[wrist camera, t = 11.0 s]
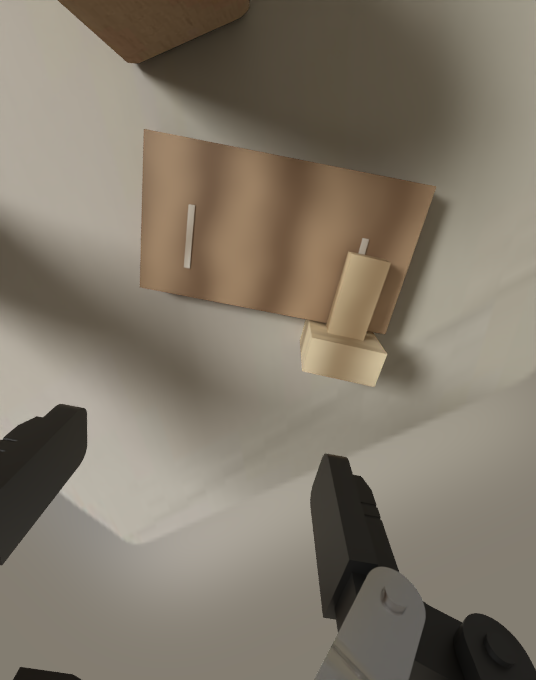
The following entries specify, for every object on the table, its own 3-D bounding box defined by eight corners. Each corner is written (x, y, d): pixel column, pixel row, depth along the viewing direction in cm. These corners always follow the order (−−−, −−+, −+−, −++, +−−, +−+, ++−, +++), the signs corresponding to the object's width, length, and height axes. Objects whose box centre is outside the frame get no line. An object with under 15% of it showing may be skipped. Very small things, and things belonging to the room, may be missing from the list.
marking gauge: (300, 340, 32) (302, 371, 26) (326, 243, 28) (336, 252, 22) (358, 353, 32) (374, 386, 26) (392, 258, 28) (419, 271, 22)
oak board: (151, 281, 31) (139, 287, 28) (156, 135, 26) (143, 128, 24) (378, 324, 31) (385, 334, 28) (423, 188, 26) (436, 186, 24)
